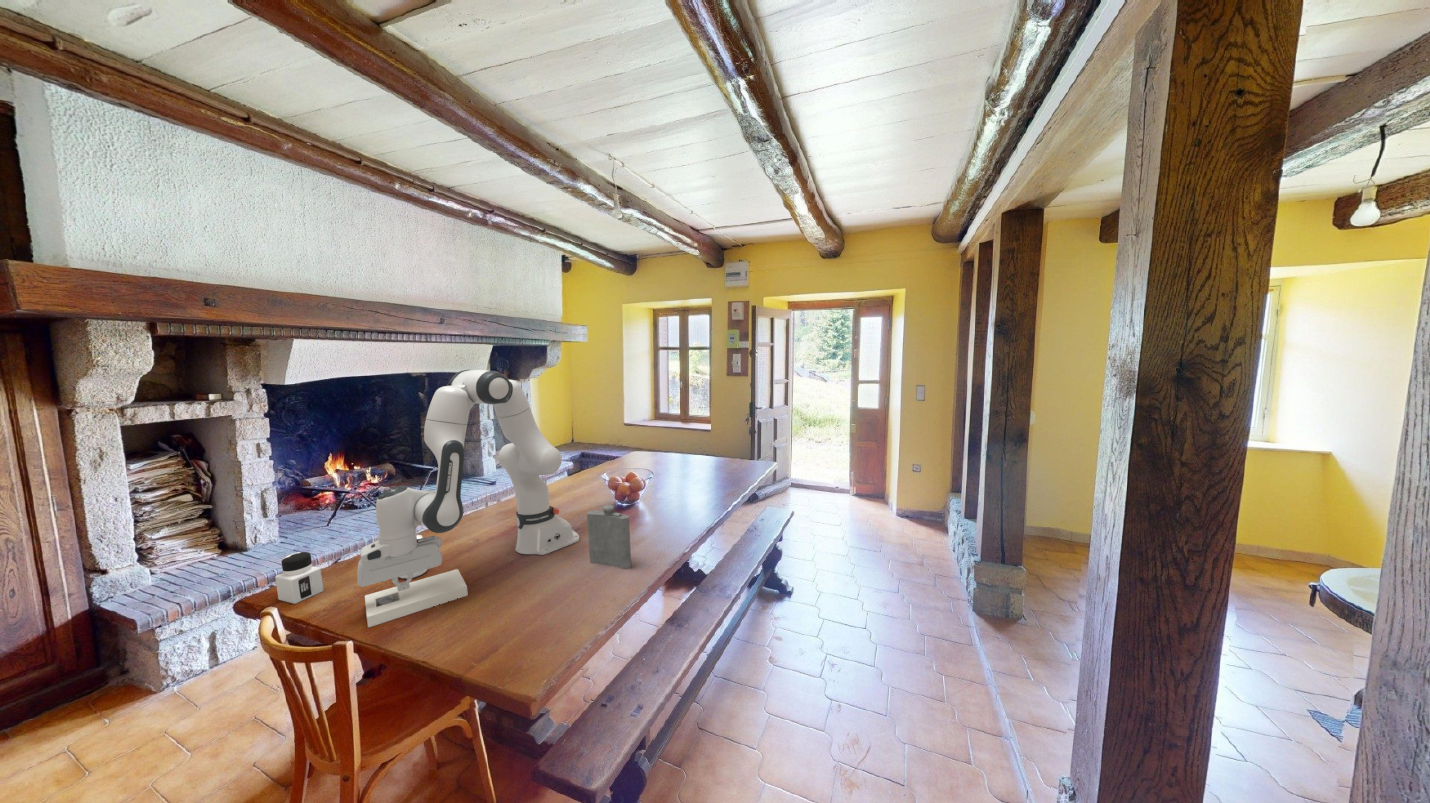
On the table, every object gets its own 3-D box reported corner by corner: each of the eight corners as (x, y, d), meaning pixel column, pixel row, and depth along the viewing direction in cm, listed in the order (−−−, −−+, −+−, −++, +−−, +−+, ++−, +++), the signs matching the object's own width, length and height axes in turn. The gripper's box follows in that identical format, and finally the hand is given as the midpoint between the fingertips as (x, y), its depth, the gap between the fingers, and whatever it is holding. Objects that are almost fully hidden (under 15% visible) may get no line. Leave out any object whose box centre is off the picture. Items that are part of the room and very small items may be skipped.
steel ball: (390, 607, 133) (397, 594, 133) (391, 614, 130) (397, 600, 130) (374, 606, 130) (381, 592, 131) (375, 612, 127) (381, 598, 128)
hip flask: (587, 562, 157) (584, 506, 154) (595, 557, 161) (592, 502, 158) (627, 569, 151) (625, 511, 149) (634, 564, 155) (631, 507, 152)
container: (324, 590, 141) (318, 551, 140) (294, 604, 134) (288, 562, 133) (308, 587, 144) (302, 547, 142) (278, 600, 137) (271, 559, 135)
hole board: (458, 577, 148) (457, 568, 148) (467, 595, 137) (466, 585, 137) (365, 605, 133) (364, 595, 133) (368, 627, 122) (366, 617, 122)
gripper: (438, 530, 140) (442, 573, 142) (354, 550, 127) (359, 596, 129) (442, 537, 135) (446, 581, 137) (354, 558, 122) (360, 606, 124)
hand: (403, 589), depth 133 cm, fingers closed
